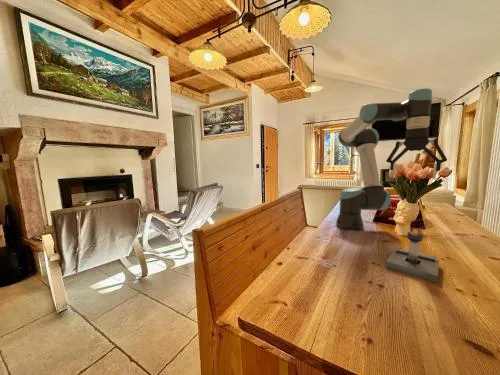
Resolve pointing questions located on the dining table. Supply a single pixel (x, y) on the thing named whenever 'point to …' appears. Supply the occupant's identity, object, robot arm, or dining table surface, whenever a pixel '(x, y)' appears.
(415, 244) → the key
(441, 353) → the dining table surface
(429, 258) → the grey flat square block
